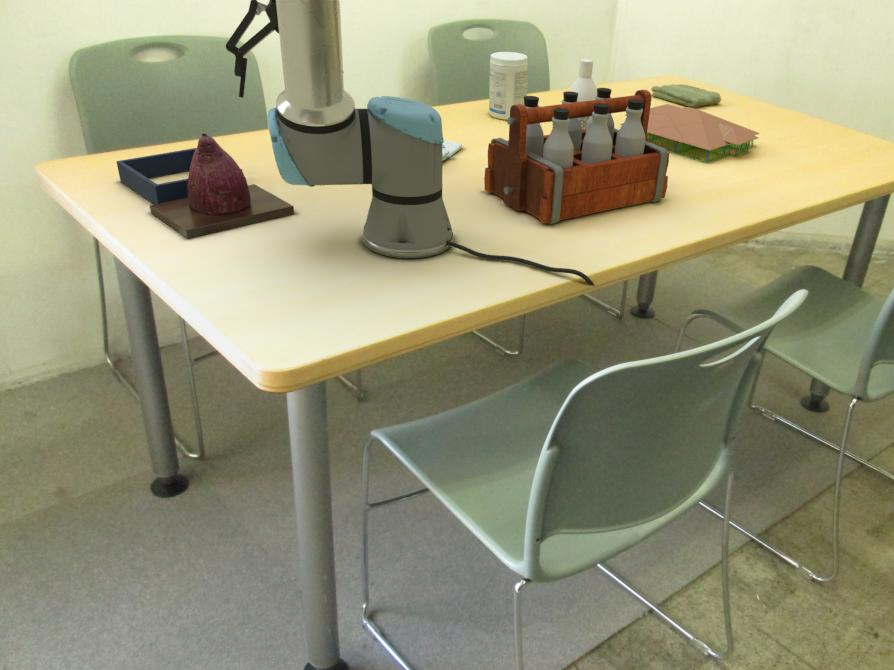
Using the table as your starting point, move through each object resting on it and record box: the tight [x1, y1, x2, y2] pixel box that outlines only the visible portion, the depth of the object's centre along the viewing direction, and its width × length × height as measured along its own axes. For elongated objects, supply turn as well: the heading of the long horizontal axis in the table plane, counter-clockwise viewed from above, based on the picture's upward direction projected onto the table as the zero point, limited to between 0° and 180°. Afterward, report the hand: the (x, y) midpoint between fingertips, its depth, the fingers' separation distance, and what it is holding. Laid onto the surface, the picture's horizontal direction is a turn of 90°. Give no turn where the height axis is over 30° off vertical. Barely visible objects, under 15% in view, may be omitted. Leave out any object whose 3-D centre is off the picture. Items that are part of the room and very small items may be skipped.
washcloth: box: [650, 83, 722, 108], centre depth 244 cm, size 13×18×3 cm
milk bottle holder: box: [483, 87, 670, 225], centre depth 165 cm, size 21×35×19 cm, turn 126°
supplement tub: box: [488, 51, 529, 121], centre depth 214 cm, size 10×10×15 cm
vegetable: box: [187, 131, 251, 215], centre depth 146 cm, size 10×10×15 cm
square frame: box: [116, 147, 243, 205], centre depth 160 cm, size 17×17×4 cm
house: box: [619, 103, 760, 164], centre depth 207 cm, size 23×33×8 cm
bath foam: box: [569, 58, 598, 130], centre depth 191 cm, size 7×7×20 cm
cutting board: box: [149, 183, 295, 239], centre depth 151 cm, size 14×20×2 cm
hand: (280, 105), depth 154 cm, fingers open, 13 cm apart
